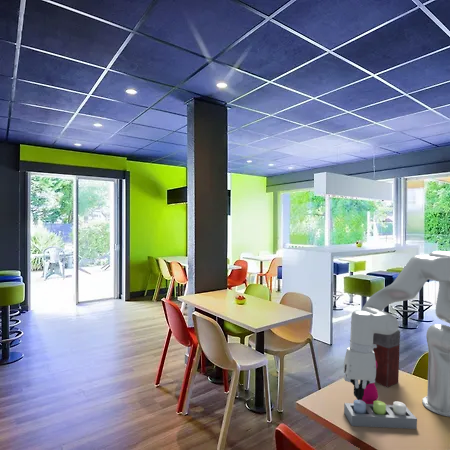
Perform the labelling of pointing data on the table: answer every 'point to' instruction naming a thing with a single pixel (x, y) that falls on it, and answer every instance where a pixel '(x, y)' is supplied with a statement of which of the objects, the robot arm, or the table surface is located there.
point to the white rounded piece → (399, 408)
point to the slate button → (359, 407)
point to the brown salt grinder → (387, 358)
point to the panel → (380, 418)
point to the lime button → (379, 407)
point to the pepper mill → (370, 393)
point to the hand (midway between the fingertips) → (358, 397)
